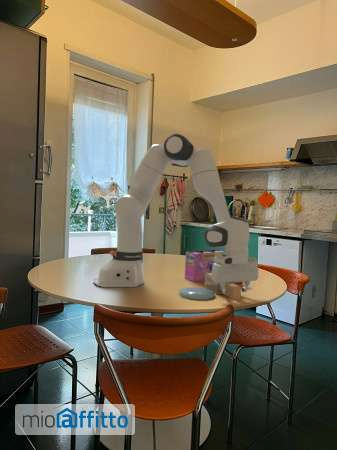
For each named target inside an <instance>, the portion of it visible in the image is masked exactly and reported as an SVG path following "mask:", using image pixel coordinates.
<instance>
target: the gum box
mask: <svg viewBox="0 0 337 450" xmlns="http://www.w3.org/2000/svg"><path fill="white" fill-rule="evenodd" d="M223 253H225V251H224V250H223V251H222V250H221V249H206V250H191V251H185V261H184V263H185V266H184V279H185V280H188V281H191V282H194V283H196V282H205V273H212V267H213V264H214V263H216V262H214V257H215V256H218V255H220V254H223Z"/></svg>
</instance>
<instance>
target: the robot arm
mask: <svg viewBox="0 0 337 450" xmlns="http://www.w3.org/2000/svg"><path fill="white" fill-rule="evenodd" d="M146 151H147V152H146V153H145V154H144V155H143V158H142V159H141V161H140V163H139V165H138V167H137V169H136V171H135V173H134V175H133V176H132V179H131V183H130V185H129V189H128V191H127V194H125V195H122V196H120V197H119V198H118V199H117V200H116V202H115V204H114V212H115V219H116V228H117V246H116V247H117V248H116V250H115V251H114V250H110V256H112V259H111V260H110V261H108V262H107V263H106V264H104V265H102V266H101V268H100V270H99V274H98V277H95V278H93V281H94V283H95V284H96V285H98V286H97V287H99V286H101V287H100V288H136V287H138V286H140V285H143V284H144V283H145V280H144V279H145V278H144V273H143V261H144V254H143V253H144V251H143V239H144V238H143V229H142V228H143V227H142V226H143V225H142V217H143V216H144V215H145V213H146V211H147V209H148V207H149V205H150V202H151V200H152V198H153V195H154V192H155V190H156V188H157V187H158V185H159V183H160V181H161V179H162V177H163V175H164V172H165V171H166V169H167V167H168V166H169V165H171V166H174V167H175V166H176V167H180V168H188V167H189V170H190V174H191V179H192V180H191V181H192V184H193V187H194V190H195V191H196V193H197V194H198V195H199V196H201V197H202V198H204V199H205V200H207V202H208V203H210V205H211V206H212V208H213V212H214V216H215V218H216V219H215V220H216V222H217V223H213V224H211V225H208V226H207V227H205V229H204V232H203V240H204V243H205V244H206V245H207V246H209V247H210V248H214V249H215V248H216V249H217V248H225V251H224V252H225V253H223V254H220V255H218V256H215V257H214V262H216V263H214V264H213V267H212V275H211V279H212V281H213V282H215V283H220V286H221V288H222V293H223V294H222V295H224V294H227V293H228V292H227V291H228V289H226V288H225V286H224V285H226V283H228V282H243V285H242V286H241V293H247V292H248V288H249V286H250V284H251V282H256V281H258V279H259V267H258V266H259V262H258V259H257V258H256V257H249V247H248V246H249V242H250V224H249V222H248V220H247V219H246V218H243V217H239V216H238V217H237V216H231V213H230V212H231V211H230V209H229V205H228V202H227V199H226V196H225V192H224V190H223V187H222V183H221V180H220V179H221V178H220V175H219V170H218V166H217V163H216V160H215V158H214V155H213V152H212V151H211V150H210V149H209V148H205V147H204V148H203V147H201V148H195V147H194V144H192V142H191V141H190V140H189V139H188V138H187V137H185V136H184V135H182V134H179V133H173V134H170V135H169V136H167V137H166V139H165V140H164V142H163V145H162V144H158V143H157V144H152V145H151V146H150V148H149V149H148V150H146ZM94 283H93V284H94ZM95 284H94V285H95ZM96 285H95V286H96Z"/></svg>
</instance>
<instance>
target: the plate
mask: <svg viewBox="0 0 337 450" xmlns="http://www.w3.org/2000/svg"><path fill="white" fill-rule="evenodd" d="M178 291H179V293H178V294H179V296H180V297H182V298H185V299H189V300H194V301H208V300H211V299H214V298H215V293H214V292H213V291H211V290H208V289H205V287H204V288H203V287H196V286H195V287H189V286H188V287H184V288H180V289H179V290H178Z"/></svg>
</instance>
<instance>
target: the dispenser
mask: <svg viewBox="0 0 337 450" xmlns="http://www.w3.org/2000/svg"><path fill="white" fill-rule="evenodd" d="M211 275H212V273H205V281H204V289H208V290H211V291H213V292H214V295H223V294H222V288H221V286H220V283H215V282H213V281H212V279H211ZM231 283H233V284H235V285H236V282H231Z"/></svg>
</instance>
